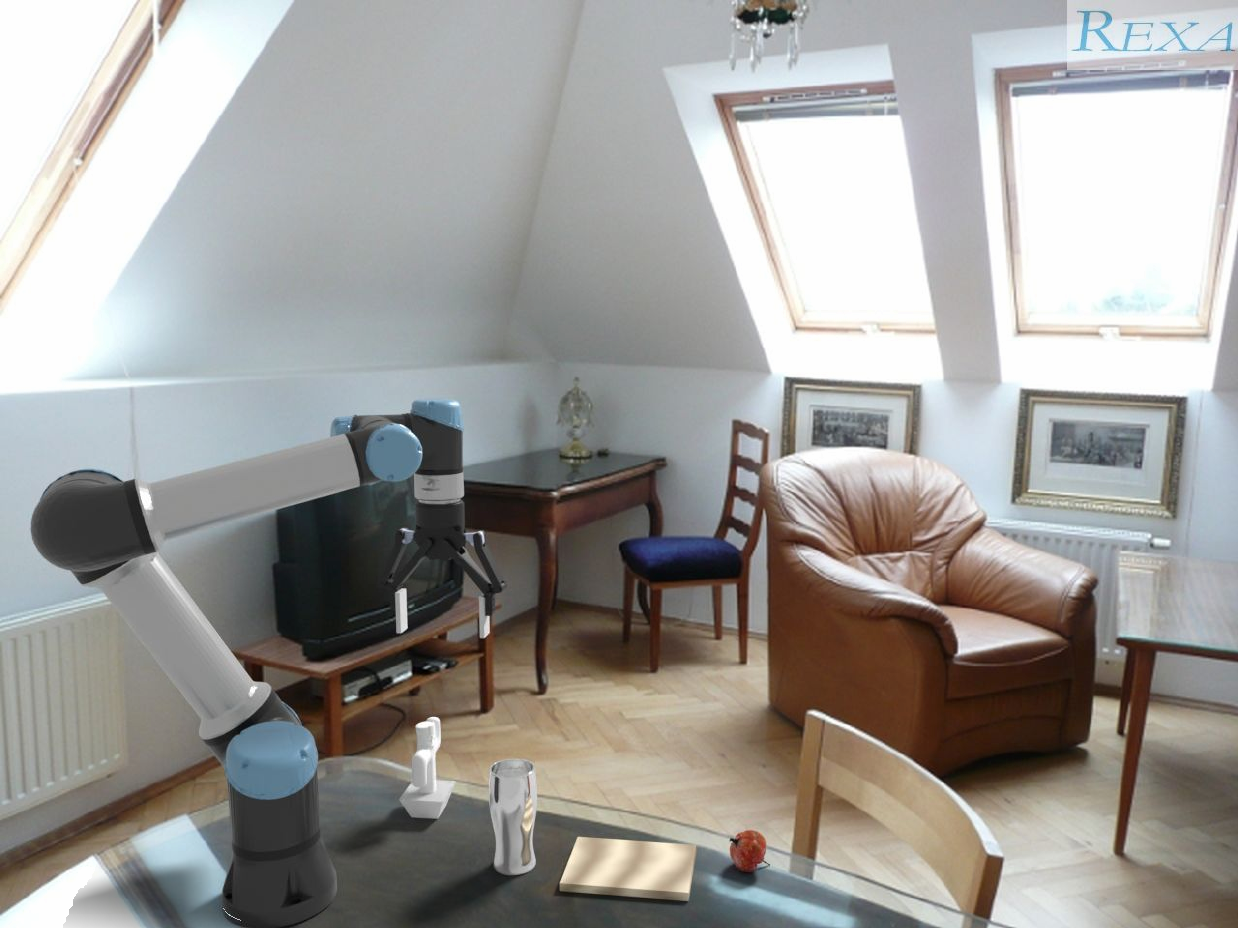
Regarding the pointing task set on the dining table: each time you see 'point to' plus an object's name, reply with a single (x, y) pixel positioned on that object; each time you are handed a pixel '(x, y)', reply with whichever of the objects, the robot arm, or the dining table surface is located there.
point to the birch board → (630, 868)
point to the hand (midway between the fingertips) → (443, 633)
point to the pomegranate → (748, 850)
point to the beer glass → (513, 814)
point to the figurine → (426, 775)
